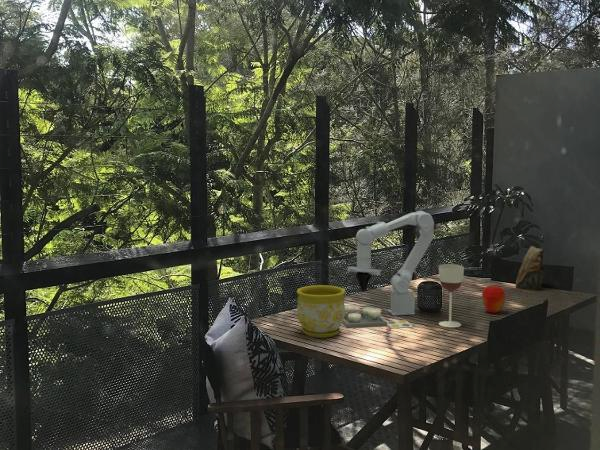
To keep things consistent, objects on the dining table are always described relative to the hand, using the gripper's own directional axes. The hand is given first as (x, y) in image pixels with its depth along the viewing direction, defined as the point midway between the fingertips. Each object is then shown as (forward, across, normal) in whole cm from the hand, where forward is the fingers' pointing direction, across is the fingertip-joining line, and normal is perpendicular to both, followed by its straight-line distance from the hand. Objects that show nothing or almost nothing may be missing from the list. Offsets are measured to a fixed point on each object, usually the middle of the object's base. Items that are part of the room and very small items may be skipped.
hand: (363, 290), depth 265 cm
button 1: (+8, 0, -11) cm, 14 cm away
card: (+10, +20, -7) cm, 23 cm away
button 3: (+9, +6, -6) cm, 12 cm away
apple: (+10, +44, +32) cm, 55 cm away
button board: (+10, +6, -11) cm, 16 cm away
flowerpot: (+10, +1, -33) cm, 35 cm away
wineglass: (+10, +36, +5) cm, 38 cm away
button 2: (+9, +6, -17) cm, 20 cm away
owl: (+10, +42, +88) cm, 98 cm away
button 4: (+8, +11, -11) cm, 18 cm away
